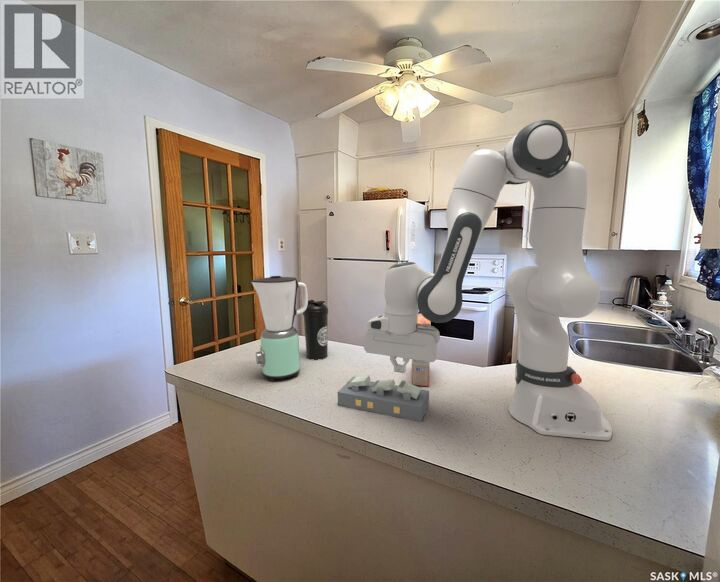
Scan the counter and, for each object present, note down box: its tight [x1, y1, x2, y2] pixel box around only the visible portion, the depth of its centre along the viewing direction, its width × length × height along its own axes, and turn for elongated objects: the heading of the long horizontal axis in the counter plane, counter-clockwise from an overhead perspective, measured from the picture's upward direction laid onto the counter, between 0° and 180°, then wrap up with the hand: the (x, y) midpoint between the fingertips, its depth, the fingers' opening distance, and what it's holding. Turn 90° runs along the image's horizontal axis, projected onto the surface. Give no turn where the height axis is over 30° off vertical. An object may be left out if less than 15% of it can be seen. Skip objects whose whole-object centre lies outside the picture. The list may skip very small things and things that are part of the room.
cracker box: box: [411, 313, 432, 387], centre depth 110 cm, size 14×6×21 cm, turn 168°
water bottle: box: [302, 299, 329, 361], centre depth 132 cm, size 10×10×23 cm
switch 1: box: [346, 375, 371, 387], centre depth 95 cm, size 6×4×2 cm
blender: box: [250, 275, 309, 383], centre depth 114 cm, size 19×13×35 cm
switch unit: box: [337, 380, 430, 423], centre depth 93 cm, size 24×10×6 cm, turn 67°
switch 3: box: [397, 379, 422, 399], centre depth 90 cm, size 6×4×2 cm
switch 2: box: [371, 378, 396, 392], centre depth 93 cm, size 6×4×2 cm
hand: (399, 371), depth 90 cm, fingers closed
